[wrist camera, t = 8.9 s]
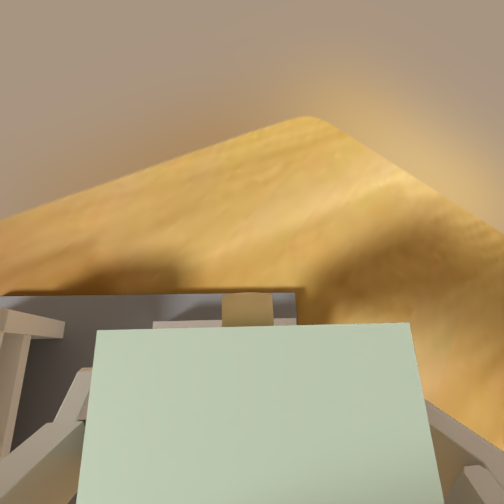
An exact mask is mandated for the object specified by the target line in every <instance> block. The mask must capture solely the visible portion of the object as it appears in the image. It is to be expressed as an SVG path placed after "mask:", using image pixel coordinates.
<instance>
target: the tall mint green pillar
mask: <svg viewBox="0 0 504 504" xmlns="http://www.w3.org/2000/svg"><path fill="white" fill-rule="evenodd" d="M76 504H444V498H443V493H442V488H441V483H440V478H439V473H438V468H437V462H436V457H435V452H434V447H433V442H432V437H431V432H430V427H429V421H428V416H427V411H426V406H425V401H424V396H423V391H422V385H421V380H420V375H419V370H418V365H417V360H416V355H415V349H414V344H413V339H412V334H411V329H410V324H409V322H408V323H368V324H328V325H288V326H274V319H273V301H272V295H271V294H268V293H260V292H243V293H233V294H228V295H224V296H222V327H209V328H169V329H129V330H97V336H96V344H95V352H94V360H93V368H92V377H91V385H90V393H89V401H88V410H87V418H86V426H85V434H84V442H83V451H82V459H81V467H80V475H79V483H78V492H77V500H76Z"/></svg>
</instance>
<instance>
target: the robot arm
mask: <svg viewBox="0 0 504 504" xmlns="http://www.w3.org/2000/svg"><path fill="white" fill-rule="evenodd" d="M92 368H93V367H90V368H81V369H80V370H79V371H78V372H77V374H76V376H75V378H74V380H73V382H72V385H71V387H70V389H69V391H68V393H67V395H66V397H65V399H64V401H63V403H62V405H61V407H60V409H59V411H58V413H57V415H56V417H55V419H54V421H53V423H46V424H45V425H44V426H42V427H41V428H40V429H39V430H38V431H36V432H35V433H34V434H33V435H32V436H30V437H29V438H28V439H27V440H25V441H24V442H23V443H22V444H21V445H19V446H18V447H17V448H16V449H15V450H13V451H12V452H11V453H10V454H8V455H7V456H6V457H5V458H4V459H2V460H1V461H0V504H68V502H69V501H70V500H71V499H72V497H73V496H74V495H75V494H76V492H77V491H78V483H79V475H80V467H81V459H82V451H83V442H84V434H85V426H86V418H87V410H88V401H89V393H90V385H91V377H92ZM424 401H425V406H426V411H427V416H428V421H429V427H430V432H431V437H432V442H433V447H434V452H435V457H436V462H437V468H438V473H439V478H440V483H441V488H442V493H443V498H444V504H504V452H503V451H502V450H500V449H499V448H497V447H496V446H494V445H493V444H491V443H490V442H488V441H487V440H485V439H484V438H482V437H481V436H479V435H478V434H476V433H475V432H473V431H472V430H470V429H469V428H467V427H466V426H464V425H463V424H461V423H460V422H458V421H457V420H455V419H454V418H452V417H451V416H449V415H448V414H446V413H445V412H443V411H442V410H440V409H439V408H437V407H436V406H434V405H433V404H431V403H430V402H428V401H427V400H425V399H424Z"/></svg>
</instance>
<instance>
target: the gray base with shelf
mask: <svg viewBox="0 0 504 504" xmlns="http://www.w3.org/2000/svg"><path fill="white" fill-rule="evenodd" d="M228 294H233V293H220V294H144V295H67V296H0V461H1V460H2V459H4V458H5V457H6V456H7V455H8V454H10V453H11V452H12V451H13V450H15V449H16V448H17V447H18V446H19V445H21V444H22V443H23V442H24V441H25V440H27V439H28V438H29V437H30V436H32V435H33V434H34V433H35V432H36V431H38V430H39V429H40V428H41V427H42V426H44V425H45V424H46V423H53V421H54V419H55V417H56V415H57V413H58V411H59V409H60V407H61V405H62V403H63V401H64V399H65V397H66V395H67V393H68V391H69V389H70V387H71V385H72V382H73V380H74V378H75V376H76V374H77V372H78V371H79V370H80V369H81V368H90V367H93V360H94V352H95V344H96V336H97V330H129V329H153V322H154V321H195V320H222V296H224V295H228ZM268 294H271V295H272V301H273V319H276V318H296V325H298V321H297V309H296V297H295V293H268ZM77 492H78V491H77ZM77 492H76V494H75V495H74V496H73V497H72V499H71V500H70V501H69V502H68V504H76V500H77Z"/></svg>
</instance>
